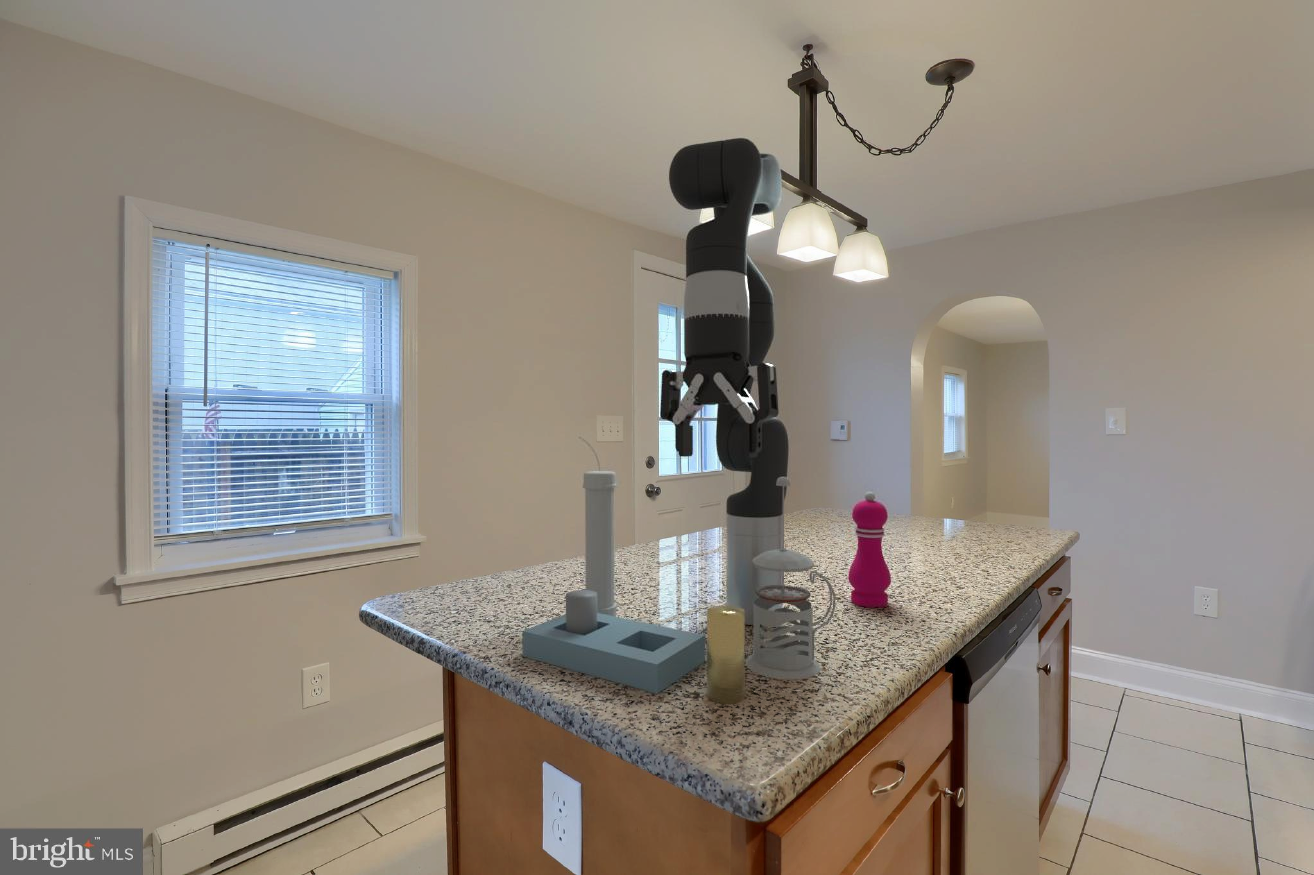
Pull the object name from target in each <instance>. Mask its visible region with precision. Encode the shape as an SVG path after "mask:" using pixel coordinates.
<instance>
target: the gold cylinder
mask: <svg viewBox="0 0 1314 875" xmlns="http://www.w3.org/2000/svg"><path fill="white" fill-rule="evenodd" d="M745 627H746V624H745V611H744V609H742V608H739V607H736V606H728V605H726V604H722V605H714V606H710V607H708V608H707V609H706V697H707V698H708V699H709V700H710V701H712V702H714V703H717V704H724V705H733V704H739V703H740V702H742V701H744V699H745V697H746V696H745V694H746V690H745V687H746V686H745V683H746V680H745V678H746V677H745V676H746V675H745V674H746V672H745V671H746V669H745V668H746V667H745V666H746V659H745V658H746V654H745V653H746V646H745V645H746V641H745V640H746V638H745V636H746V633H745V632H746V630H745V629H746V628H745Z"/></svg>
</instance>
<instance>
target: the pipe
mask: <svg viewBox="0 0 1314 875" xmlns="http://www.w3.org/2000/svg"><path fill="white" fill-rule="evenodd" d="M578 438H579V439H581V440H582V441H583V442H585V443H586V444H587V445H588V447H590V448H591V450H592V452H593V453H594V456H595V458H596V461H597V465H598V470H591V471H585V472H583V484H582V489H585V490H584V491H585V492H584V496H585V497H584V498H585V501H584V503H585V504H584V508H585V510H584V511H585V512H584V513H585V515H584V517H585V518H584V519H585V520H584V522H585V523H584V524H585V526H584V527H585V532H584V533H585V536H584V537H585V542H584V543H585V544H584V545H585V547H584V548H585V559H584V560H585V590H590V591H594V592H596V593H597V613H600V614H605V615H610V616H615V617H617V609H618V603H617V602H615V489H617V487H618V486H617V474H616V472H615V471H611V470H610V471H609V470H601V466H600V461H599V458H598V455H597V453H596V452H595V449H594V448H593V447H592V446H591V444H590V443H589V442H588V441H587V440H586V439H584V438H582V437H581V436H579V437H578Z"/></svg>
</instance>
